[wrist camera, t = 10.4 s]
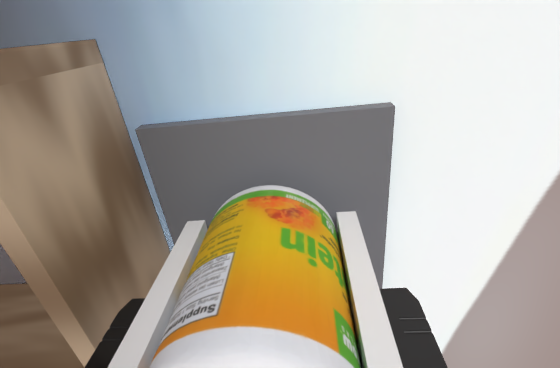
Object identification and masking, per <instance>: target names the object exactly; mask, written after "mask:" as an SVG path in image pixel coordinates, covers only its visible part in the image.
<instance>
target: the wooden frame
mask: <svg viewBox="0 0 560 368" xmlns="http://www.w3.org/2000/svg"><path fill="white" fill-rule="evenodd" d="M0 243H1V245H2V246H3V248H4V249H5V251H6V252H7V254H8V255H9V257H10V258H11V260H12V261H13V263H14V264H15V266H16V267H17V269H18V270H19V272H20V273H21V275H22V276H23V277H24V279H25V280H26V282H27V283H28V284H4V285H0V368H85V366H86V364H87V363H88V361H89V359H90V358H91V356H92V354H93V353H94V351H95V350H96V348H97V346H98V345H99V343H100V342H102V338H103V336H104V335H105V333H106V332H107V330H108V329H110V325H111V323H112V322H113V320H114V318H115V317H116V315H117V314H118V312H119V311H120V310H121V309H122V308H123V307H124V306H125V305H126V304H127V303H128V302H129V301H130V300H131V299H136V298H146V296H147V294H148V293H149V291H150V289H151V287H152V285H153V283H154V282H155V280H156V278H157V276H158V274H159V272H160V271H161V269H162V267H163V265H164V263H165V261H166V260H167V258H168V256H169V254H170V250H169V247H168V245H167V242H166V239H165V236H164V233H163V230H162V228H161V225H160V222H159V219H158V216H157V213H156V211H155V208H154V205H153V202H152V199H151V196H150V194H149V191H148V188H147V185H146V182H145V179H144V177H143V174H142V171H141V168H140V165H139V162H138V160H137V157H136V154H135V151H134V148H133V145H132V142H131V140H130V137H129V134H128V131H127V128H126V125H125V123H124V120H123V117H122V114H121V111H120V108H119V106H118V103H117V100H116V97H115V94H114V91H113V89H112V86H111V83H110V80H109V77H108V74H107V72H106V69H105V66H104V63H103V60H102V57H101V55H100V52H99V49H98V46H97V43H96V40H95V39H92V40H82V41H72V42H62V43H52V44H42V45H33V46H23V47H13V48H3V49H0Z"/></svg>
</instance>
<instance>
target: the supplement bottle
mask: <svg viewBox="0 0 560 368" xmlns="http://www.w3.org/2000/svg"><path fill="white" fill-rule="evenodd" d="M149 368H361V364H360V358H359V353H358V347H357V342H356V337H355V331H354V326H353V321H352V315H351V309H350V304H349V298H348V293H347V287H346V282H345V275H344V269H343V264H342V258H341V253H340V247H339V241H338V236H337V232H336V228H335V225H334V223H333V221H332V219H331V217H330V215H329V213H328V212H327V211H326V209H325V208H324V207H323V206H322V205H321V204H320V203H319V202H318V201H316V200H315V199H314V198H312V197H311V196H309V195H307V194H305V193H303V192H301V191H299V190H296V189H293V188H289V187H285V186H277V185H264V186H257V187H252V188H249V189H246V190H244V191H241V192H239V193H237V194H236V195H234V196H232V197H231V198H229V199H228V200H227V201H226V202H225V203H224V204H223V205H222V206H221V207H220V208H219V209H218V211H217V212H216V214H215V216H214V217H213V220H212V221H211V223H210V226H209V228H208V230H207V232H206V235H205V237H204V239H203V242H202V244H201V246H200V249H199V251H198V254H197V256H196V258H195V261H194V263H193V265H192V268H191V270H190V272H189V275H188V277H187V280H186V282H185V284H184V287H183V289H182V292H181V294H180V296H179V299H178V301H177V303H176V306H175V308H174V311H173V313H172V315H171V318H170V320H169V323H168V325H167V327H166V330H165V332H164V334H163V337H162V339H161V341H160V344H159V346H158V348H157V350H156V353H155V355H154V357H153V360H152V362H151V365H150V367H149Z"/></svg>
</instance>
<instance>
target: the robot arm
mask: <svg viewBox="0 0 560 368" xmlns="http://www.w3.org/2000/svg"><path fill="white" fill-rule="evenodd" d="M336 216H337V236H338V241H339V247H340V253H341V258H342V264H343V269H344V275H345V282H346V287H347V293H348V298H349V304H350V309H351V315H352V321H353V326H354V331H355V337H356V342H357V347H358V353H359V358H360V364H361V368H447V365H446V363H445V361H444V358H443V356H442V354H441V352H440V349H439V347H438V345H437V342H436V340H435V338H434V335H433V334H432V332H431V328H430V326H429V324H428V321H427V320H426V317H425V314H424V312H423V310H422V307H421V305H420V303H419V301H418V300H417V299H416V298H415V297H414V296H413V295H412V293H411V292H410V291H409V290H408V289H407V288H389V289H379V286H378V283H377V280H376V276H375V273H374V270H373V267H372V263H371V260H370V257H369V253H368V250H367V247H366V243H365V240H364V237H363V234H362V230H361V227H360V224H359V220H358V217H357V214H356V211H350V212H336ZM207 230H208V229H207V226H206V222H205V220H199V221H187V223H186V225H185V227H184V228H183V230H182V232H181V234H180V236H179V238H178V239H177V241H176V243H175V245H174V247H173V249H172V250H171V252H170V254H169V256H168V258H167V260H166V261H165V263H164V265H163V267H162V269H161V271H160V272H159V274H158V276H157V278H156V280H155V282H154V283H153V285H152V287H151V289H150V291H149V293H148V294H147V296H146V298H136V299H131V300H130V301H129V302H128V303H127V304H126V305H125V306H124V307H123V308H122V309H121V310H120V311H119V312H118V314H117V315H116V317H115V318H114V320H113V322H112V323H111V325H110V329H108V330H107V332H106V333H105V335H104V336H103V338H102V342H100V343H99V345H98V346H97V348H96V350H95V351H94V353H93V354H92V356H91V358H90V359H89V361H88V363H87V364H86V366H85V368H149V367H150V365H151V362H152V360H153V357H154V355H155V353H156V350H157V348H158V346H159V344H160V341H161V339H162V337H163V334H164V332H165V330H166V327H167V325H168V323H169V320H170V318H171V315H172V313H173V311H174V308H175V306H176V303H177V301H178V299H179V296H180V294H181V292H182V289H183V287H184V284H185V282H186V280H187V277H188V275H189V272H190V270H191V268H192V265H193V263H194V261H195V258H196V256H197V254H198V251H199V249H200V246H201V244H202V242H203V239H204V237H205V235H206V232H207Z"/></svg>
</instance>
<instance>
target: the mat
mask: <svg viewBox="0 0 560 368" xmlns="http://www.w3.org/2000/svg"><path fill="white" fill-rule="evenodd" d="M394 114H395V106H394V105H393V104H392V103H391V102H390V103H379V104H368V105H357V106H346V107H335V108H324V109H313V110H302V111H291V112H280V113H269V114H258V115H247V116H236V117H225V118H214V119H203V120H192V121H181V122H170V123H160V124H149V125H141V126H140V127H138V128H137V129H136V130H135V131H136V134H137V137H138V140H139V142H140V145H141V148H142V151H143V154H144V157H145V160H146V163H147V166H148V169H149V172H150V175H151V178H152V181H153V184H154V187H155V190H156V193H157V195H158V198H159V201H160V204H161V207H162V210H163V213H164V216H165V219H166V222H167V225H168V228H169V231H170V234H171V237H172V240H173V243H174V245H175V243H176V241H177V239H178V238H179V236H180V234H181V232H182V230H183V228H184V227H185V225H186V223H187V221H199V220H205V222H206V226H207V229H208V228H209V226H210V223H211V221H212V220H213V217H214V216H215V214H216V212H217V211H218V209H219V208H220V207H221V206H222V205H223V204H224V203H225V202H226V201H227V200H228V199H229V198H231V197H232V196H234V195H236V194H237V193H239V192H241V191H244V190H246V189H249V188H252V187H257V186H264V185H277V186H285V187H289V188H293V189H296V190H299V191H301V192H303V193H305V194H307V195H309V196H311V197H312V198H314V199H315V200H316V201H318V202H319V203H320V204H321V205H322V206H323V207H324V208H325V209H326V211H327V212H328V213H329V215H330V217H331V219H332V221H333V223H334V225H335V228H336V232H337V216H336V212H350V211H356V214H357V217H358V220H359V224H360V227H361V230H362V234H363V237H364V240H365V243H366V247H367V250H368V253H369V257H370V260H371V263H372V267H373V270H374V273H375V276H376V280H377V283H378V286H379V289H382V282H383V268H384V254H385V240H386V226H387V212H388V198H389V184H390V170H391V156H392V142H393V128H394Z"/></svg>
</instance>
